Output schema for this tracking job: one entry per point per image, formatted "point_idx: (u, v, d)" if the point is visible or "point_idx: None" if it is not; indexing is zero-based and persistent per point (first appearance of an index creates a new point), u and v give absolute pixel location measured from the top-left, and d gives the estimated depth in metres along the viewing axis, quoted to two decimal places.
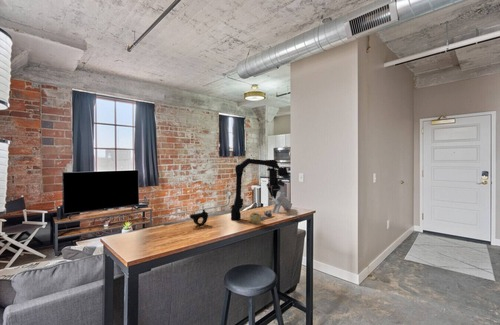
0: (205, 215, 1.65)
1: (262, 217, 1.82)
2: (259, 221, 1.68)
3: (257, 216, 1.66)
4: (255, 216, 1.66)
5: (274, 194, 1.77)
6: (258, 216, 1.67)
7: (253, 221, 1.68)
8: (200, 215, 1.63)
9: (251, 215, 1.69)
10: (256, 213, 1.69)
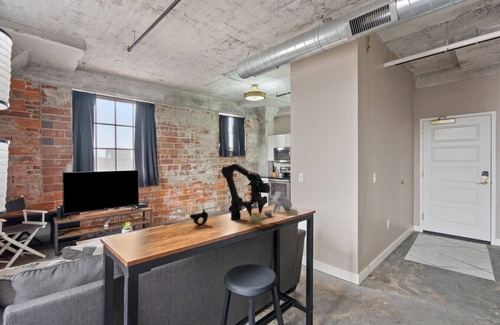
0: (205, 215, 1.65)
1: (262, 217, 1.82)
2: (259, 221, 1.68)
3: (257, 216, 1.66)
4: (255, 216, 1.66)
5: (248, 211, 1.66)
6: (258, 216, 1.67)
7: (253, 221, 1.68)
8: (200, 215, 1.63)
9: (251, 215, 1.69)
10: (256, 213, 1.69)
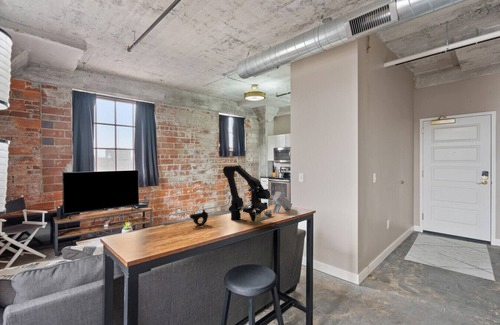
0: (205, 215, 1.65)
1: (262, 217, 1.82)
2: (259, 221, 1.68)
3: (257, 216, 1.66)
4: (255, 216, 1.66)
5: (251, 216, 1.67)
6: (258, 216, 1.67)
7: None
8: (200, 215, 1.63)
9: None
10: (256, 213, 1.69)
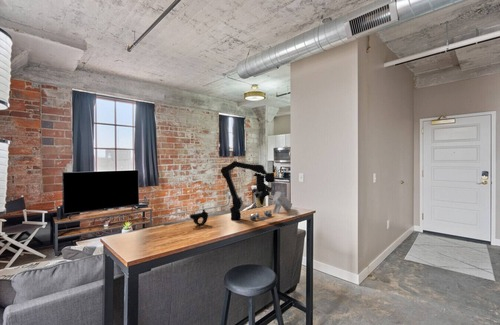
0: (205, 215, 1.65)
1: (262, 217, 1.82)
2: None
3: None
4: (264, 199, 1.75)
5: (261, 200, 1.73)
6: None
7: None
8: (200, 215, 1.63)
9: None
10: None
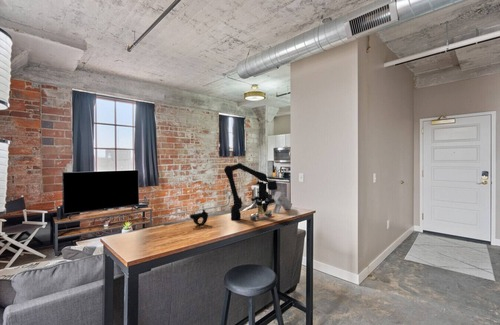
0: (205, 215, 1.65)
1: (262, 217, 1.82)
2: None
3: None
4: None
5: (265, 207, 1.77)
6: None
7: (264, 212, 1.78)
8: (200, 215, 1.63)
9: (262, 207, 1.77)
10: (262, 204, 1.81)
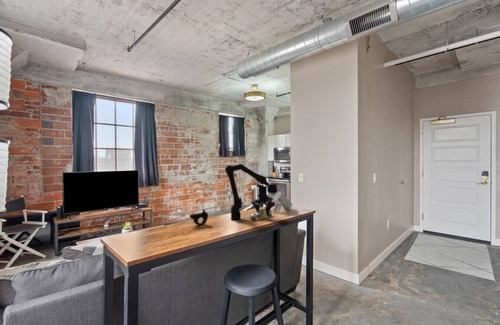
0: (205, 215, 1.65)
1: None
2: None
3: None
4: None
5: (268, 211, 1.76)
6: None
7: (264, 216, 1.79)
8: (200, 215, 1.63)
9: (263, 212, 1.77)
10: (263, 209, 1.81)
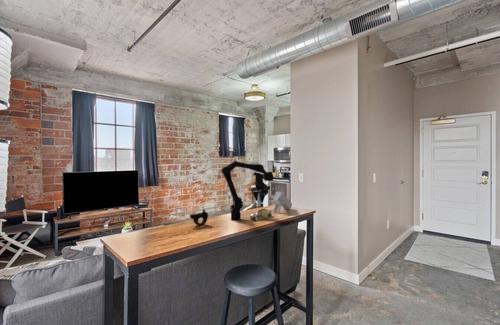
0: (205, 215, 1.65)
1: None
2: None
3: None
4: (266, 211, 1.80)
5: (262, 198, 1.79)
6: None
7: (264, 216, 1.79)
8: (200, 215, 1.63)
9: (263, 212, 1.77)
10: (263, 209, 1.81)
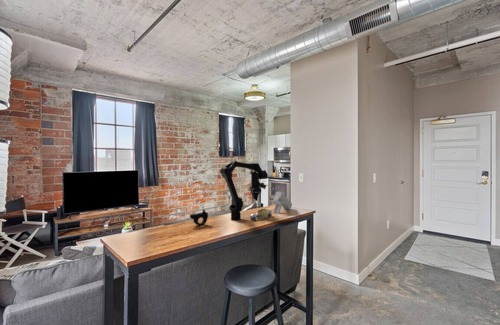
0: (205, 215, 1.65)
1: None
2: None
3: None
4: (266, 211, 1.80)
5: (255, 197, 1.83)
6: None
7: (264, 216, 1.79)
8: (200, 215, 1.63)
9: (263, 212, 1.77)
10: (263, 209, 1.81)
